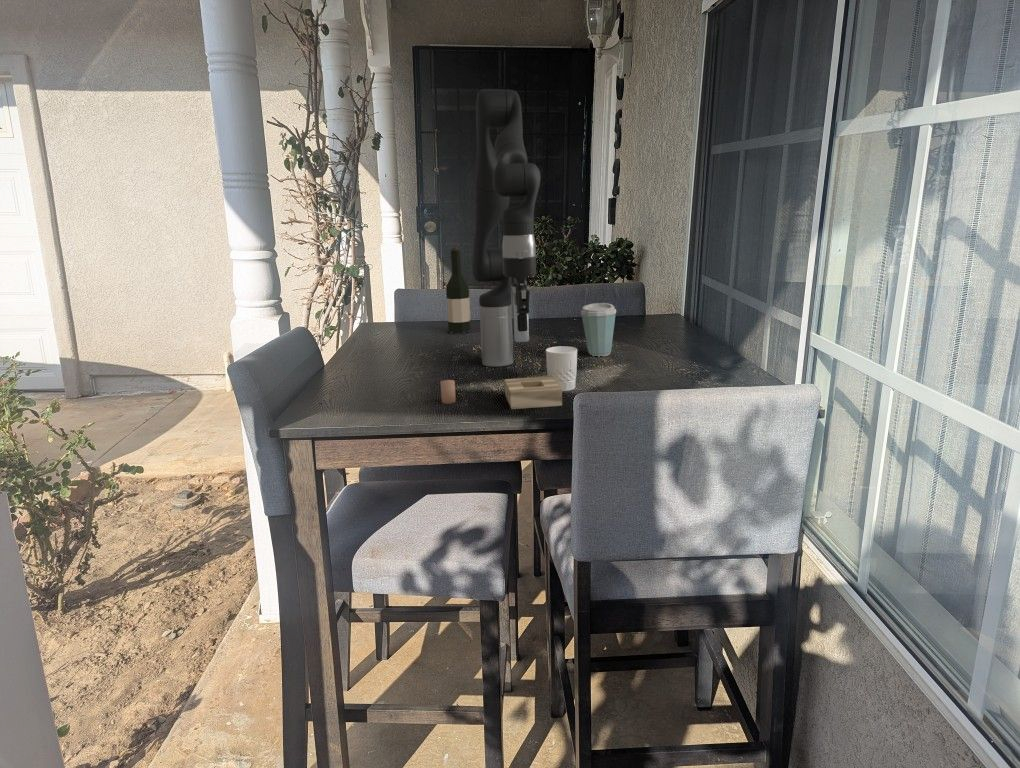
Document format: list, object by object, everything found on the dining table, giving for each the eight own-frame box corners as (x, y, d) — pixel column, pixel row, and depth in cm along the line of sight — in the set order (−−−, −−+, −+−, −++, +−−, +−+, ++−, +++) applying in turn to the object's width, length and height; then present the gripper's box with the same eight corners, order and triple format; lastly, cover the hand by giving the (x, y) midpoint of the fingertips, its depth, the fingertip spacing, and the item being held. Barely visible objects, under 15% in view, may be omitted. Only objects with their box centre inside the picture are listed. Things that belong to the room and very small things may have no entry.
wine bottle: (446, 331, 261) (441, 247, 253) (468, 328, 263) (464, 246, 255) (451, 334, 253) (446, 249, 245) (473, 332, 255) (469, 247, 247)
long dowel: (513, 339, 169) (512, 297, 166) (528, 338, 169) (526, 296, 167) (515, 342, 166) (513, 299, 163) (529, 341, 166) (528, 298, 163)
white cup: (575, 383, 185) (575, 345, 182) (579, 391, 177) (579, 352, 174) (545, 384, 184) (544, 346, 182) (548, 393, 177) (547, 353, 174)
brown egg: (441, 400, 174) (440, 380, 173) (455, 399, 174) (454, 379, 173) (441, 403, 171) (440, 383, 170) (456, 402, 171) (454, 382, 170)
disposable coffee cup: (615, 358, 209) (615, 308, 205) (578, 358, 211) (578, 308, 208) (617, 350, 219) (617, 302, 215) (582, 350, 221) (582, 302, 218)
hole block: (504, 395, 176) (504, 379, 175) (552, 391, 178) (552, 376, 176) (511, 409, 165) (510, 392, 164) (562, 405, 166) (561, 389, 165)
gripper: (499, 253, 169) (502, 325, 173) (505, 258, 155) (508, 336, 159) (531, 252, 169) (533, 323, 174) (539, 256, 156) (541, 334, 160)
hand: (521, 329), depth 167 cm, fingers closed on long dowel, 3 cm apart
